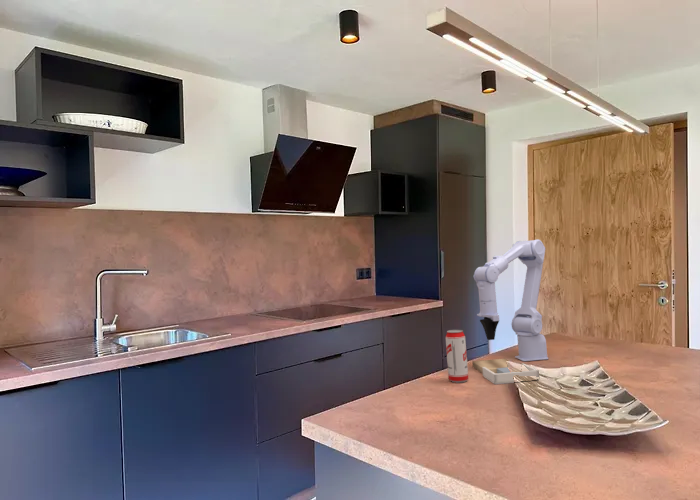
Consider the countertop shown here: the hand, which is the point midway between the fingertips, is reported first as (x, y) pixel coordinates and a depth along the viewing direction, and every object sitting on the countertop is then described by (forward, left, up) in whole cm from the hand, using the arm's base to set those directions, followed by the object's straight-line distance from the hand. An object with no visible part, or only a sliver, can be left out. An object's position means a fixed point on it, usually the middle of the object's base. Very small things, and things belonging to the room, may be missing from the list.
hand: (490, 339), depth 171 cm
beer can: (+16, +13, -10) cm, 23 cm away
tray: (0, +16, -10) cm, 18 cm away
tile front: (0, +17, -9) cm, 19 cm away
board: (0, +3, -10) cm, 10 cm away
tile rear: (0, +12, -9) cm, 15 cm away
